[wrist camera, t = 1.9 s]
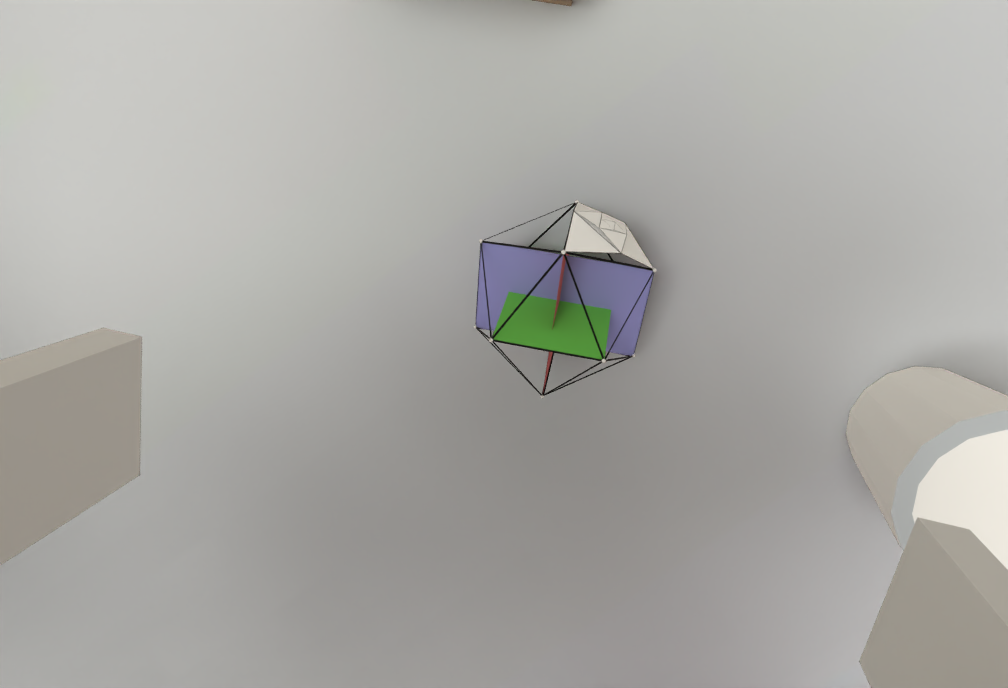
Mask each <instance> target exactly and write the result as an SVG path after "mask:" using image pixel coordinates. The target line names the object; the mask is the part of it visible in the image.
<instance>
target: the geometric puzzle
mask: <svg viewBox="0 0 1008 688" xmlns="http://www.w3.org/2000/svg"><path fill="white" fill-rule="evenodd" d="M570 205H572V204H570ZM575 205H576V206H575ZM568 206H569V205H568ZM574 206H575V208H574V210H573V214H572V218H571V222H570V227H569V231H568V235H567V239H566V242H565V246H564V250H562V251H556V250H548V249H541V248H533V247H531V246H532V245H533V244H534V243H535V242H536V241H537V240H538V239H539V238H540V237H542V236H543V235H544V234H545V233H546V232H547V231H548V230H549V229H550V228H551V227H552V226H553V225H554V224H556V223H557V222H558V221H559V220H560V219H561V218H562V217H563V216H564V215H565V214H566V213H567V212H568V211H570V210H571V209H572V208H573V207H574ZM565 207H567V206H565ZM563 208H564V207H563ZM560 209H562V208H560ZM558 210H559V209H558ZM556 211H557V210H556ZM553 212H554V211H553ZM551 213H552V212H551ZM548 214H549V213H548ZM546 215H547V214H546ZM543 216H545V215H543ZM541 217H542V216H541ZM538 218H540V217H538ZM536 219H537V218H536ZM533 220H535V219H533ZM531 221H532V220H531ZM529 222H530V221H529ZM526 223H527V222H526ZM524 224H525V223H524ZM521 225H522V224H521ZM519 226H520V225H519ZM516 227H518V226H516ZM514 228H515V227H514ZM511 229H513V228H511ZM509 230H510V229H509ZM506 231H508V230H506ZM504 232H505V231H504ZM502 233H503V232H502ZM499 234H500V233H499ZM497 235H498V234H497ZM494 236H495V235H494ZM492 237H493V236H492ZM489 238H491V237H489ZM487 239H488V238H487ZM484 240H486V239H484ZM479 242H480V260H479V276H478V292H477V309H476V325H474V328H475V329H477V330H478V331H479V332H480V333H481V334H482V335H483V334H484V333H483V332H482V331H481V330H479V329H486V330H490V338H489V337H488V336H487V335H486V334H484V335H485V336H486V337H487V338H489V340H488V339H487V338H486V337H485V336H484V335H483V336H484V337H485V338H486V339H487V340H488V341H489V342H490V343H491V342H493V341H495V342H500V343H505V344H511V345H516V346H522V347H527V348H532V349H538V350H543V351H549V355H548V361H547V368H546V375H545V382H544V387H543V391H542V394H541V393H540V392H539V391H538V390H537V389H536V388H535V387H534V386H533V385H532V383H531V382H530V381H529V380H528V379H527V378H526V377H525V376H524V375H523V374H522V372H521V371H520V370H519V369H518V368H517V367H516V366H515V365H514V364H513V363H512V361H511V360H510V359H509V358H508V357H507V356H506V355H505V354H504V353H503V351H502V350H501V349H500V348H499V347H498V346H497V345H496V344H495V343H494V342H493V343H494V344H495V345H496V346H497V347H498V349H499V350H500V351H501V352H502V353H503V354H504V355H505V356H506V357H507V358H508V360H509V361H510V362H511V363H512V364H513V365H514V366H515V367H516V368H517V369H518V370H517V369H516V368H515V367H514V366H513V365H512V364H511V363H510V362H509V361H508V360H507V359H506V358H505V357H504V356H503V357H504V358H505V359H506V360H507V361H508V362H509V363H510V364H511V365H512V366H513V367H514V368H515V369H516V370H517V371H518V372H519V373H520V374H521V375H522V376H523V377H524V378H525V379H526V380H527V381H528V382H529V383H530V384H531V385H532V386H533V387H534V389H535V390H536V391H537V392H538V393H539V394H540V398H544V396H545V395H547V394H549V393H551V392H554V391H556V390H558V389H561V388H563V387H565V386H567V385H570V384H572V383H574V382H576V381H579V380H581V379H583V378H586V377H588V376H590V375H592V374H595V373H597V372H599V371H601V370H604V369H606V368H608V367H610V366H613V365H615V364H617V363H620V362H622V361H624V360H626V359H629V358H631V357H635V356H636V355H635V354H634V352H635V348H636V344H637V340H638V336H639V332H640V328H641V324H642V320H643V316H644V312H645V308H646V304H647V300H648V296H649V292H650V288H651V284H652V280H653V276H654V272H656V271H657V269H656V268H653V267H652V265H651V263H650V262H649V260H648V259H647V257H646V255H645V254H644V252H643V250H642V249H641V247H640V246H639V244H638V242H637V241H636V239H635V238H634V236H633V234H632V233H631V231H630V230H629V228H628V226H627V225H626V223H624V222H622V221H620V220H618V219H615V218H613V217H611V216H609V215H607V214H605V213H602V212H600V211H597V210H595V209H593V208H591V207H588V206H586V205H584V204H582V203H579V201H578V200H576V201H575V204H574V203H573V205H572V206H571V207H570V208H569V209H568V210H567V211H566V212H565V213H564V214H563V215H562V216H561V217H560V218H558V219H557V220H556V221H555V222H554V223H553V224H552V225H551V226H550V227H549V228H548V229H547V230H546V231H545V232H544V233H542V234H541V235H540V236H539V237H538V238H537V239H536V240H535V241H534V242H533V243H532V244H531V245H530V246H529V247H526V246H518V245H511V244H503V243H495V242H488V241H483V240H482V239H480V240H479ZM525 248H526V249H525ZM531 249H533V250H531ZM537 250H541V251H537ZM543 251H548V252H543ZM549 252H555V253H561V254H555V253H549ZM571 252H579V253H607V254H608V256H609V257H610V259H611V260H606V259H601V258H596V257H591V256H586V255H581V254H576V253H571ZM609 253H613V254H623V255H625V256H627V257H629V258H631V259H633V260H635V261H637V262H639V263H641V264H643V265H645V266H647V267H649V268H646V267H641V266H636V265H631V264H626V263H621V262H616V261H613V260H612V258H611V256H610V255H609ZM569 254H570V255H575V256H580V257H585V258H590V259H585V258H579V257H573V256H569ZM591 259H595V260H591ZM597 260H600V261H597ZM603 261H605V262H603ZM609 262H610V263H609ZM491 330H492V331H494V333H493V336H492V335H491ZM491 344H492V343H491ZM492 345H493V344H492ZM493 346H494V345H493ZM494 347H495V346H494ZM495 348H496V347H495ZM496 349H497V348H496ZM498 349H497V350H498ZM499 350H498V351H499ZM500 351H499V352H500ZM606 351H607V352H608V353H607V355H606V357H605V352H606ZM501 352H500V353H501ZM609 352H612V353H617V354H621V355H626V356H627V357H621V358H615V359H608V360H605V359H606V358H607V356H608V354H609ZM502 353H501V354H502ZM554 353H560V354H565V355H570V356H576V357H581V358H587V359H592V360H597V361H601V362H600V363H605V362H606V361H610V360H617V359H623V358H626V359H624V360H622V361H619V362H617V363H615V364H613V365H610V366H608V367H606V368H604V369H601V370H599V371H597V372H594V373H592V374H590V375H588V376H585V377H583V378H581V379H579V380H576V381H574V382H572V383H570V384H567V385H565V386H563V387H560V386H562V385H564V384H565V383H567V382H569V381H571V380H572V379H574V378H576V377H578V376H579V375H581V374H583V373H585V372H586V371H588V370H590V369H592V368H593V367H595V366H597V365H599V364H600V363H598V364H596V365H594V366H593V367H591V368H589V369H588V370H586V371H584V372H582V373H581V374H579V375H577V376H575V377H574V378H572V379H570V380H568V381H567V382H565V383H563V384H561V385H560V386H558V387H560V388H558V387H556V388H554V389H553V390H554V391H553V390H551V391H549V392H548V393H546V394H544V393H545V389H546V385H547V381H548V376H549V372H550V368H551V364H552V360H553V355H554ZM557 388H558V389H557ZM555 389H556V390H555Z"/></svg>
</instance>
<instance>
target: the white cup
mask: <svg viewBox="0 0 1008 688" xmlns="http://www.w3.org/2000/svg"><path fill="white" fill-rule="evenodd" d="M846 437H847V441H848V444H849V448H850V451H851V455H852V457H853V459H854V461H855V463H856V465H857V467H858V469H859V470H860V472H861V474H862V476H863V478H864V480H865V482H866V484H867V486H868V487H869V489H870V491H871V493H872V495H873V497H874V499H875V501H876V502H877V504H878V506H879V508H880V510H881V512H882V514H883V516H884V518H885V519H886V521H887V523H888V525H889V527H890V529H891V531H892V533H893V534H894V536H895V538H896V540H897V542H898V544H899V546H900V547H901V548H902V550H903V551H904V549H905V546H906V544H907V541H908V539H909V536H910V534H911V532H912V529H913V527H914V524H915V522H916V519H917V517H919V518H923V519H927V520H932V521H936V522H940V523H945V524H949V525H953V526H957V527H962V528H966V529H970V530H971V531H972V532H973V533H974V534H975V536H976V537H977V538H978V539H979V540H980V541H981V542H982V543H983V544H984V545H985V546H986V547H987V548H988V549H989V550H990V551H991V553H992V554H993V555H994V556H995V557H996V558H997V559H998V560H999V561H1000V562H1001V563H1002V564H1003V565H1004V566H1005V567H1006V569H1007V570H1008V396H1007V395H1005V394H1002V393H1000V392H997V391H995V390H993V389H990V388H988V387H986V386H983V385H981V384H979V383H976V382H974V381H972V380H969V379H967V378H965V377H962V376H960V375H957V374H955V373H953V372H950V371H948V370H946V369H943V368H932V367H918V366H914V367H910V368H906V369H903V370H899V371H895V372H892V373H888V374H886V375H885V376H883V377H882V378H880V379H879V380H877V381H876V382H874V383H873V384H872V385H870V386H869V387H867V388H866V389H864V391H863V392H862V394H861V395H860V397H859V398H858V400H857V401H856V403H855V404H854V405H853V407H852V408H851V410H850V413H849V419H848V424H847V430H846Z"/></svg>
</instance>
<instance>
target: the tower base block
mask: <svg viewBox="0 0 1008 688" xmlns="http://www.w3.org/2000/svg"><path fill="white" fill-rule="evenodd" d="M533 1H540V2H547V3H553V4H560V5H567V6H571V5H572V0H533Z"/></svg>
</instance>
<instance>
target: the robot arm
mask: <svg viewBox="0 0 1008 688" xmlns="http://www.w3.org/2000/svg"><path fill="white" fill-rule="evenodd" d="M141 376H142V337H141V336H137V335H132V334H128V333H124V332H119V331H115V330H111V329H107V328H101V329H97V330H94V331H91V332H88V333H85V334H82V335H79V336H75V337H72V338H69V339H66V340H63V341H60V342H57V343H53V344H50V345H47V346H44V347H41V348H38V349H35V350H31V351H28V352H25V353H22V354H19V355H16V356H13V357H9V358H6V359H3V360H0V565H2V564H3V563H5V562H6V561H8V560H9V559H11V558H12V557H14V556H16V555H17V554H19V553H20V552H22V551H23V550H25V549H26V548H28V547H29V546H31V545H33V544H34V543H36V542H37V541H39V540H40V539H42V538H43V537H45V536H46V535H48V534H50V533H51V532H53V531H54V530H56V529H57V528H59V527H60V526H62V525H63V524H65V523H67V522H68V521H70V520H71V519H73V518H74V517H76V516H77V515H79V514H81V513H82V512H84V511H85V510H87V509H88V508H90V507H91V506H93V505H94V504H96V503H98V502H99V501H101V500H102V499H104V498H105V497H107V496H108V495H110V494H111V493H113V492H115V491H116V490H118V489H119V488H121V487H122V486H124V485H125V484H127V483H128V482H130V481H132V480H133V479H135V478H136V477H138V476H139V475H140V435H141ZM859 663H860V665H861V667H862V669H863V671H864V673H865V675H866V678H867V680H868V682H869V684H870V686H871V688H1008V570H1007V569H1006V567H1005V566H1004V565H1003V564H1002V563H1001V562H1000V561H999V560H998V559H997V558H996V557H995V556H994V555H993V554H992V553H991V551H990V550H989V549H988V548H987V547H986V546H985V545H984V544H983V543H982V542H981V541H980V540H979V539H978V538H977V537H976V536H975V534H974V533H973V532H972V531H971V530H970V529H966V528H962V527H957V526H953V525H949V524H945V523H940V522H936V521H932V520H927V519H923V518H919V517H917V519H916V522H915V524H914V527H913V529H912V532H911V534H910V536H909V539H908V541H907V544H906V546H905V549H904V551H903V554H902V556H901V559H900V561H899V564H898V566H897V569H896V571H895V574H894V576H893V579H892V581H891V584H890V586H889V589H888V591H887V594H886V596H885V599H884V601H883V604H882V606H881V609H880V611H879V614H878V616H877V619H876V621H875V623H874V626H873V628H872V631H871V633H870V636H869V638H868V641H867V643H866V646H865V648H864V651H863V653H862V656H861V658H860V661H859Z"/></svg>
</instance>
